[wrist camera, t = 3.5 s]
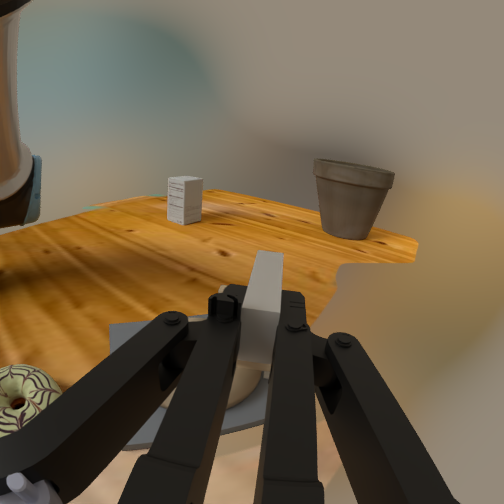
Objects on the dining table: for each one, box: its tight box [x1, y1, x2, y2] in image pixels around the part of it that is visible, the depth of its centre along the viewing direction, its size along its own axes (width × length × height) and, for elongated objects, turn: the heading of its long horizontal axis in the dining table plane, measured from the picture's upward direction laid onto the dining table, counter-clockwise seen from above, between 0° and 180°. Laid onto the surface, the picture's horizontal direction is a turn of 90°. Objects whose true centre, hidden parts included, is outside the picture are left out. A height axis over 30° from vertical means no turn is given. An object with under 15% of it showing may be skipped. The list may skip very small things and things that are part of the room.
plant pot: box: [313, 159, 395, 240], centre depth 87 cm, size 25×25×22 cm
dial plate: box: [109, 314, 270, 451], centre depth 32 cm, size 19×19×1 cm
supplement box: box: [167, 176, 203, 225], centre depth 83 cm, size 7×7×13 cm
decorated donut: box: [0, 364, 63, 437], centre depth 19 cm, size 10×11×4 cm
